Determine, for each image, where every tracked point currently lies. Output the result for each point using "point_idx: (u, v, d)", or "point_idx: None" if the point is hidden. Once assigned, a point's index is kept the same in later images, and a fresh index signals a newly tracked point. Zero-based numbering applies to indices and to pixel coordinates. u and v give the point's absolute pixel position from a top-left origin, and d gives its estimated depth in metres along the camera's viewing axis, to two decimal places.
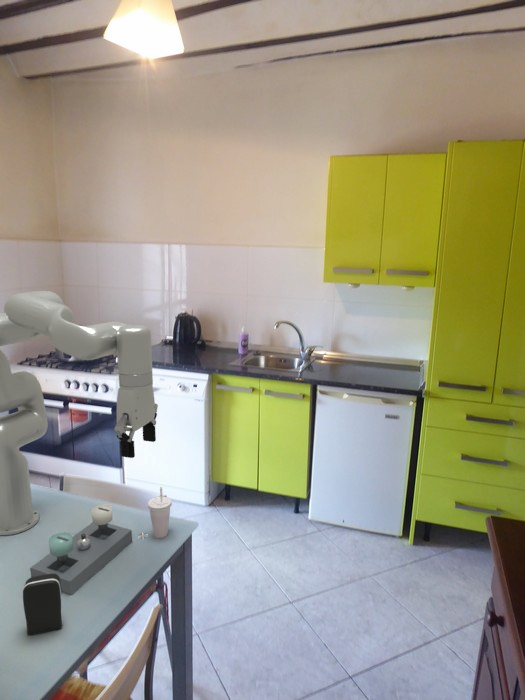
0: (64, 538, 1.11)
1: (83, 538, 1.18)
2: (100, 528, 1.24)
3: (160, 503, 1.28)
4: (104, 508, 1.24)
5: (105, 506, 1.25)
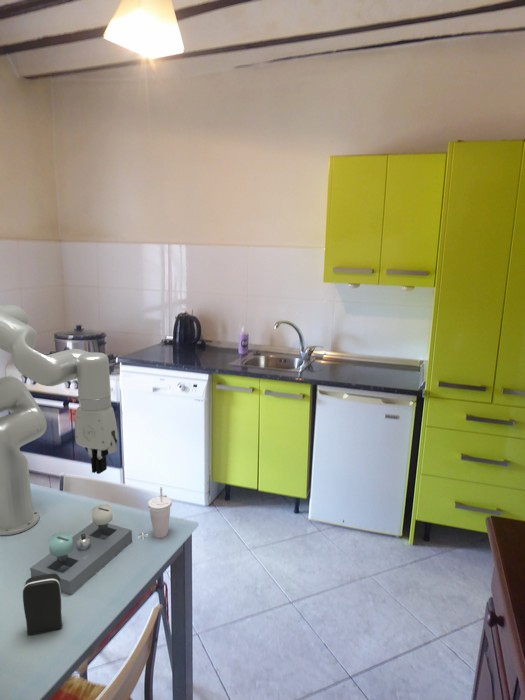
0: (64, 538, 1.11)
1: (83, 538, 1.18)
2: (100, 528, 1.24)
3: (160, 503, 1.28)
4: (104, 508, 1.24)
5: (105, 506, 1.25)
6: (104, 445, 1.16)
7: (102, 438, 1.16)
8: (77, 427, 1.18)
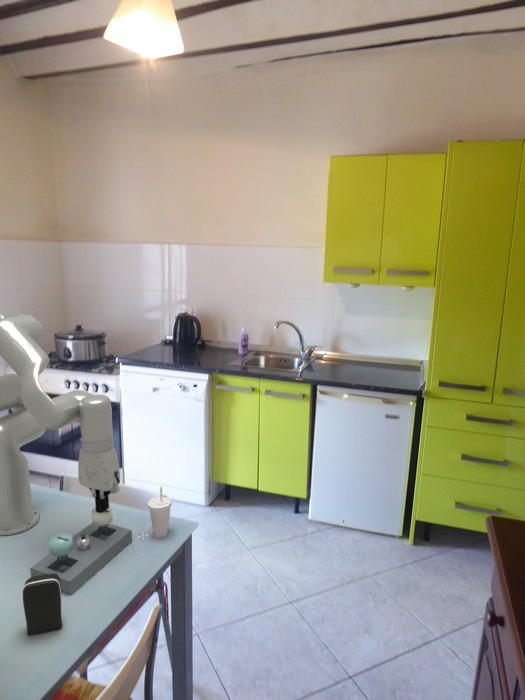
0: (64, 538, 1.11)
1: (83, 538, 1.18)
2: (100, 529, 1.24)
3: (160, 503, 1.28)
4: None
5: None
6: (107, 486, 1.18)
7: (105, 479, 1.18)
8: (80, 468, 1.20)
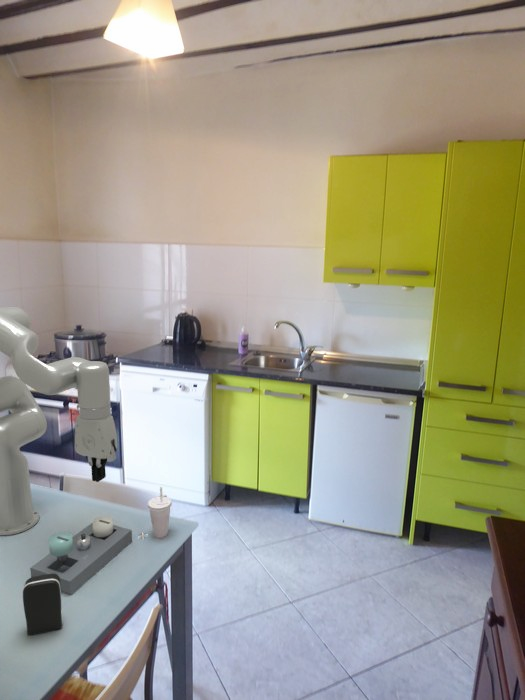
0: (64, 538, 1.11)
1: (83, 538, 1.18)
2: None
3: (160, 503, 1.28)
4: (105, 520, 1.25)
5: (105, 518, 1.26)
6: (104, 454, 1.16)
7: (102, 447, 1.16)
8: (77, 436, 1.18)
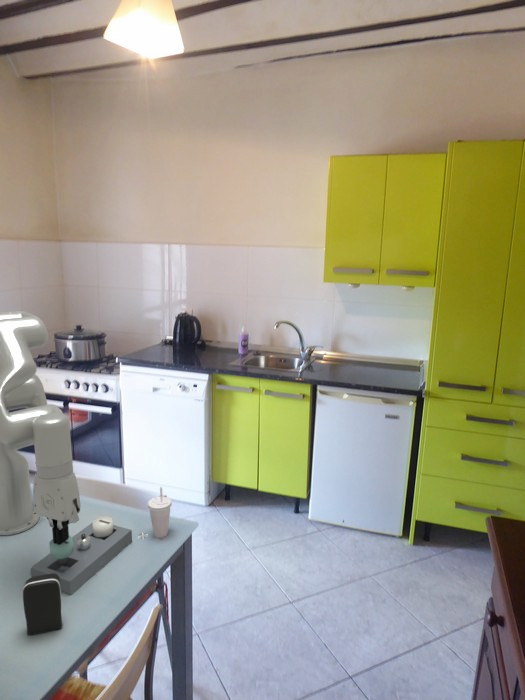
0: (64, 541, 1.11)
1: (83, 538, 1.18)
2: None
3: (160, 503, 1.28)
4: (105, 520, 1.25)
5: (105, 518, 1.26)
6: (64, 516, 1.05)
7: (62, 508, 1.05)
8: (35, 495, 1.08)
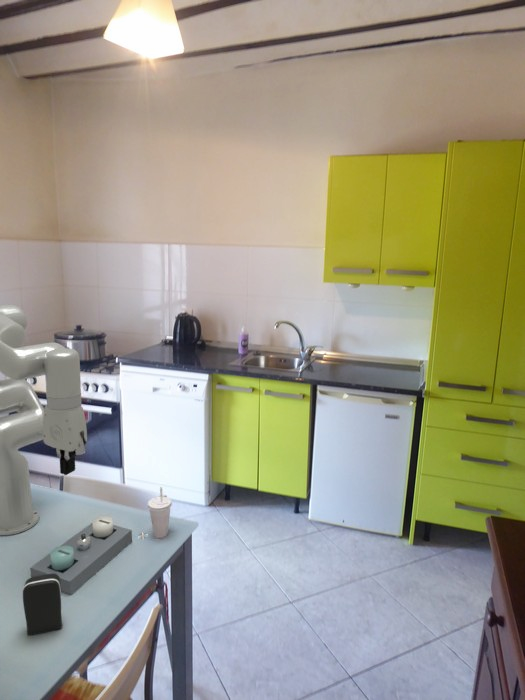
0: (65, 552, 1.12)
1: (83, 538, 1.18)
2: None
3: (160, 503, 1.28)
4: (105, 520, 1.25)
5: (105, 518, 1.26)
6: (71, 446, 1.10)
7: (69, 439, 1.10)
8: (45, 426, 1.13)
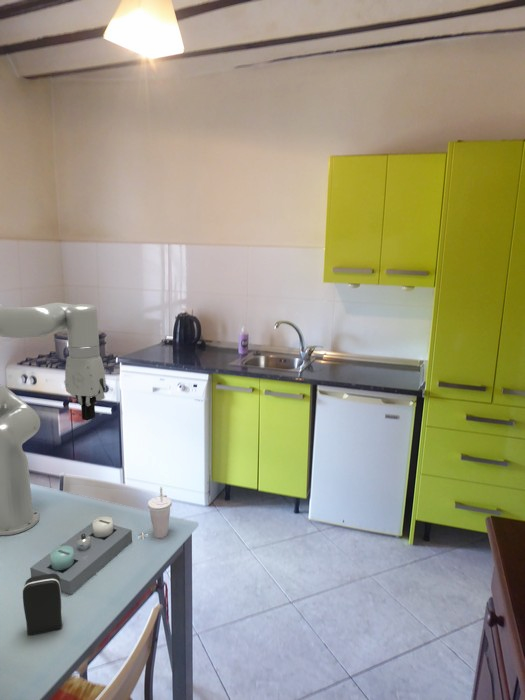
0: (65, 552, 1.12)
1: (83, 538, 1.18)
2: None
3: (160, 503, 1.28)
4: (105, 520, 1.25)
5: (105, 518, 1.26)
6: (92, 391, 1.22)
7: (91, 385, 1.22)
8: (67, 375, 1.24)
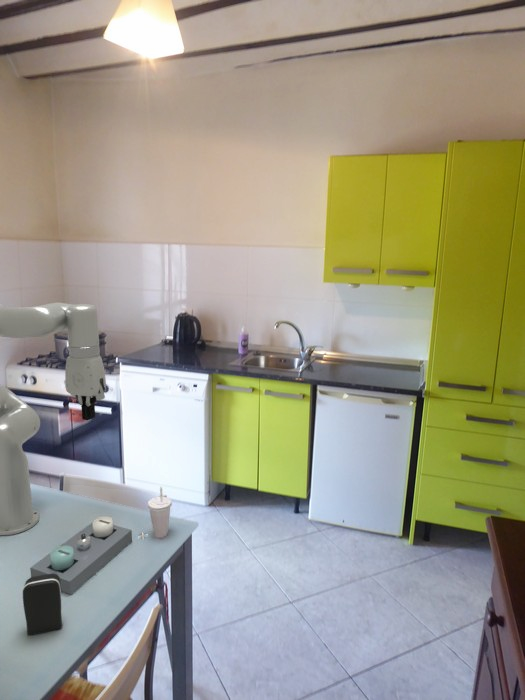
0: (65, 552, 1.12)
1: (83, 538, 1.18)
2: None
3: (160, 503, 1.28)
4: (105, 520, 1.25)
5: (105, 518, 1.26)
6: (93, 391, 1.22)
7: (91, 385, 1.22)
8: (67, 375, 1.24)
